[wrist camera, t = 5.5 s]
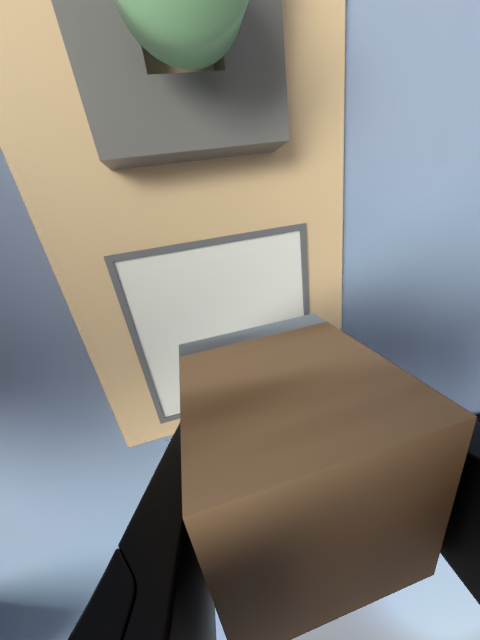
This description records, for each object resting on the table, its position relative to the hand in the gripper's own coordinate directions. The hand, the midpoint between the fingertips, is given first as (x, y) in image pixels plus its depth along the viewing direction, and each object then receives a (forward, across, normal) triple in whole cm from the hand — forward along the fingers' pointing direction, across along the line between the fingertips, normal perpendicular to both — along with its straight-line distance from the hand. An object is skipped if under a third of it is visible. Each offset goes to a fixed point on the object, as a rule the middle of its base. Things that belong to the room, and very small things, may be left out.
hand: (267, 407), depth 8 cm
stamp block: (+1, 0, 0) cm, 1 cm away
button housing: (+7, 0, -12) cm, 13 cm away
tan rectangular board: (+7, 0, -5) cm, 8 cm away
